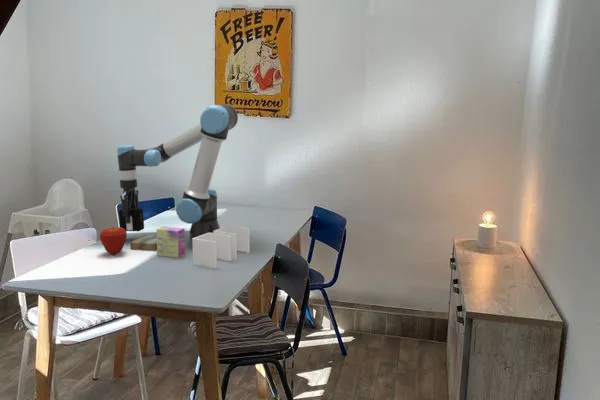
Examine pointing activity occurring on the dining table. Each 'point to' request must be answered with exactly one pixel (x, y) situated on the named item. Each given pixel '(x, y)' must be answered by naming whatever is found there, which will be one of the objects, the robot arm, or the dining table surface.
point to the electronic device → (133, 219)
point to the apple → (113, 239)
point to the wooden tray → (145, 243)
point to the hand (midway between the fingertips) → (132, 228)
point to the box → (171, 242)
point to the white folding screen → (220, 245)
